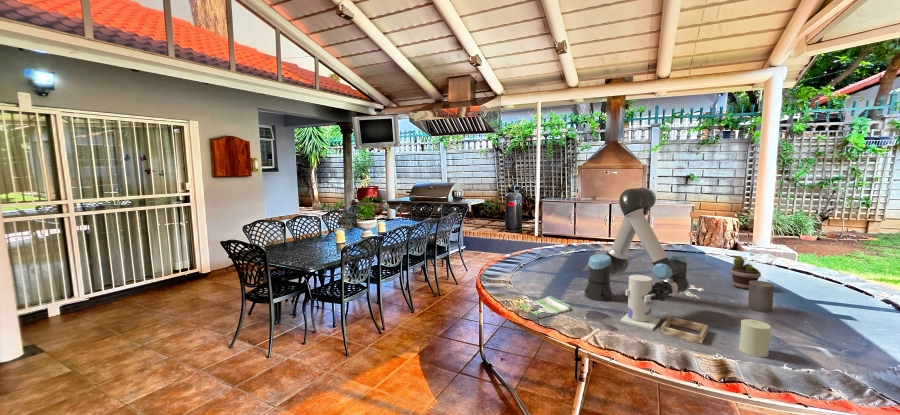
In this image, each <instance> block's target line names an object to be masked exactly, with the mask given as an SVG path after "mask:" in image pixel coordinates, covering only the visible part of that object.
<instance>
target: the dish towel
mask: <svg viewBox="0 0 900 415" xmlns="http://www.w3.org/2000/svg"><path fill="white" fill-rule="evenodd" d="M532 305H540V306H542V307H543V308H539V310H538V311H534V312H532V311H531V313H533V314H536V315H537V314H538V313H541V312H546V313H561V312H564V313H566V311H567V312H569V311H571V310H573V309H572V306H571V305H570V304H568V303H565V302H563V301H561V300H558V299H557V298H555V297H553V296H551V295H549V296H546V297H544V298H540V299H536V300H534V301H528V302H525V303H522V304H519V305H518V306H519V307H520V308H522V309H525V310H527V309H528V308H527V307H529V306H532ZM518 306H517V307H518ZM561 314H562V313H561Z"/></svg>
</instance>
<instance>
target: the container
mask: <svg viewBox="0 0 900 415" xmlns="http://www.w3.org/2000/svg"><path fill="white" fill-rule="evenodd" d="M652 285H653V278H652V277H650V276H647V275H642V274H632V275H629V276H628V289H629V295H627V296H628V300H627V313H628V317H629V318H631V319H633V320H636V321H650V320H651V317H652V302H653V300H652V301H649V302H644V298H645V296H647V295H651V294H653V293H652Z"/></svg>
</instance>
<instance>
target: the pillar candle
mask: <svg viewBox="0 0 900 415" xmlns="http://www.w3.org/2000/svg"><path fill="white" fill-rule="evenodd" d="M774 288H775V286H774V284H773V283H771V282H768V281H763V280H758V281H750V282H749V290H748V298H747V299H748V300H747V301H748V302H747V308H748V309H751V310H752V311H756V312H762V313H771V312H773V305H774Z"/></svg>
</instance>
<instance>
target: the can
mask: <svg viewBox="0 0 900 415" xmlns="http://www.w3.org/2000/svg"><path fill="white" fill-rule="evenodd" d="M771 328H772V327H771V325H769V323H766V322H763V321H760V320H756V319H752V318H751V319H748V318H747V319H741V321H740V334H739V335H740V336H739V346H738V349H739V351H740V352H743V353H744V354H747V355H749V356H753V357H756V358H767V357H769V349H770V348H769V347H770V338H771V337H770V336H771Z"/></svg>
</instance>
